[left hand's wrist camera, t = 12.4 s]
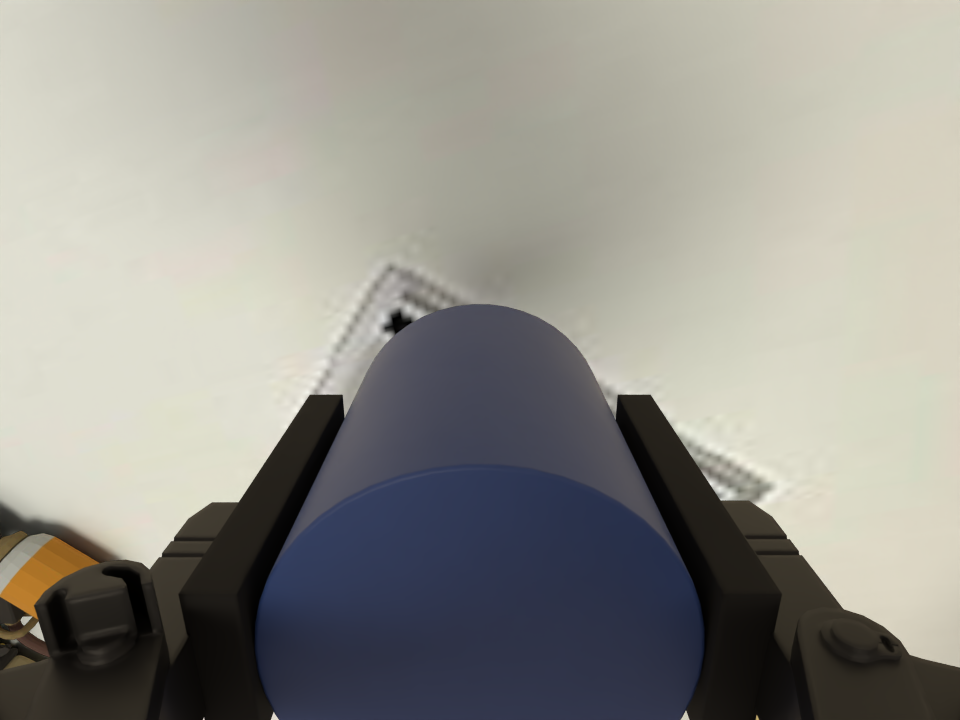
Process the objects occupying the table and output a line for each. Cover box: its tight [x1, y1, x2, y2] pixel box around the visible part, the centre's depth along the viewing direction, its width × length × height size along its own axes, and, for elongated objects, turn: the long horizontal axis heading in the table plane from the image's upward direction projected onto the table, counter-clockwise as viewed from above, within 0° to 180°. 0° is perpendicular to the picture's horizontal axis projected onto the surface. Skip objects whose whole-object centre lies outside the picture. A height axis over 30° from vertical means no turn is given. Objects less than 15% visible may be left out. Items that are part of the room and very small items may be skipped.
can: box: [254, 304, 705, 720], centre depth 12 cm, size 6×6×8 cm
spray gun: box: [0, 531, 99, 670], centre depth 40 cm, size 4×17×15 cm
